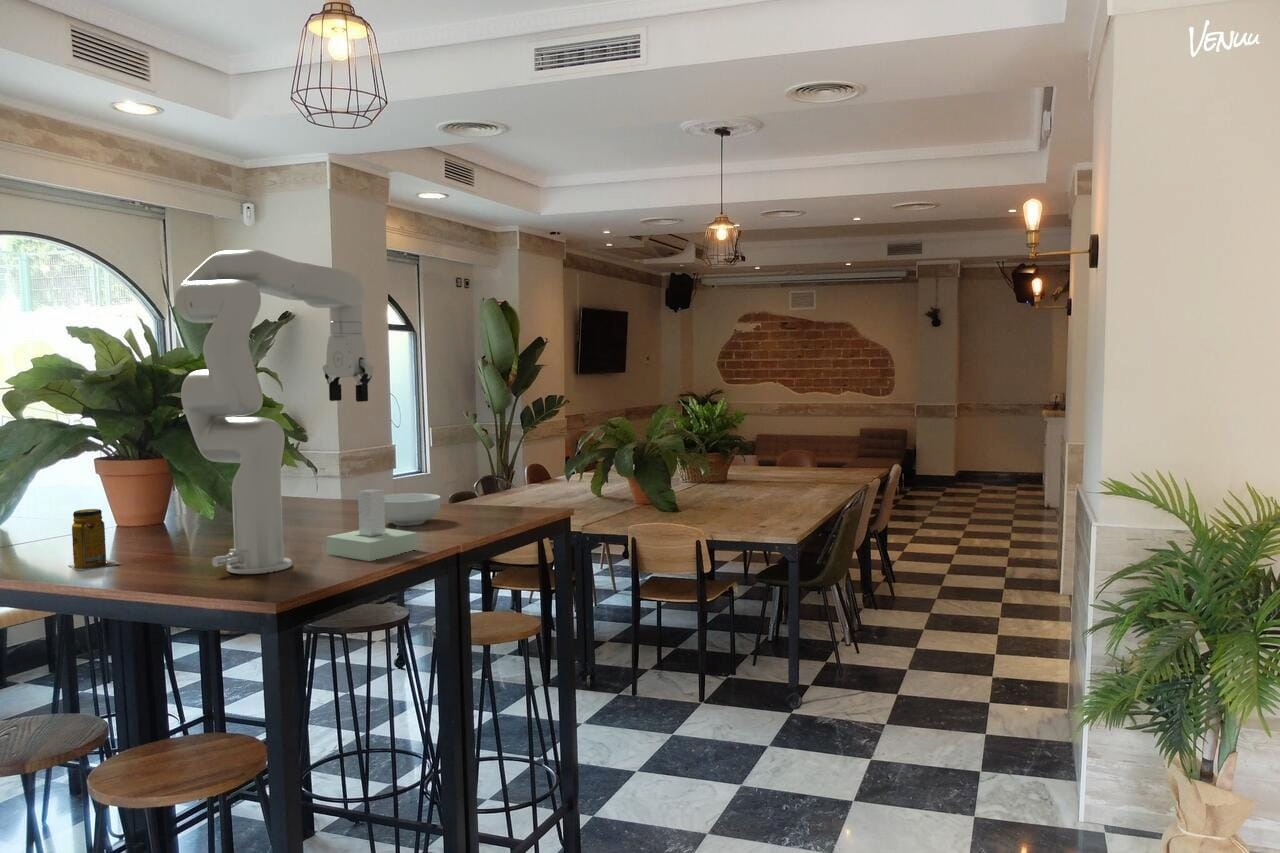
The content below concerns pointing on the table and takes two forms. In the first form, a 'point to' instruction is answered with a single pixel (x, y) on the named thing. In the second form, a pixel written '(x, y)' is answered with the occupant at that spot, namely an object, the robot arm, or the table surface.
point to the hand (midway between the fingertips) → (348, 401)
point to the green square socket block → (371, 544)
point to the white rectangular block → (371, 513)
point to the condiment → (89, 540)
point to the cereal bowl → (411, 508)
